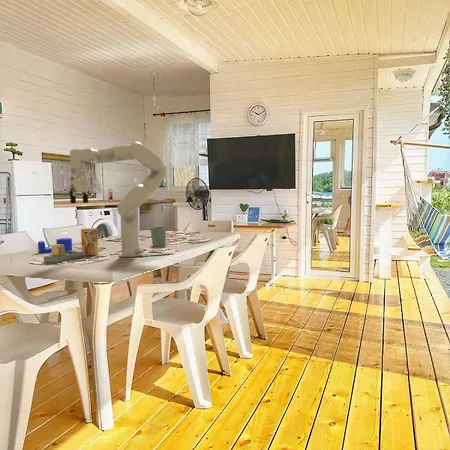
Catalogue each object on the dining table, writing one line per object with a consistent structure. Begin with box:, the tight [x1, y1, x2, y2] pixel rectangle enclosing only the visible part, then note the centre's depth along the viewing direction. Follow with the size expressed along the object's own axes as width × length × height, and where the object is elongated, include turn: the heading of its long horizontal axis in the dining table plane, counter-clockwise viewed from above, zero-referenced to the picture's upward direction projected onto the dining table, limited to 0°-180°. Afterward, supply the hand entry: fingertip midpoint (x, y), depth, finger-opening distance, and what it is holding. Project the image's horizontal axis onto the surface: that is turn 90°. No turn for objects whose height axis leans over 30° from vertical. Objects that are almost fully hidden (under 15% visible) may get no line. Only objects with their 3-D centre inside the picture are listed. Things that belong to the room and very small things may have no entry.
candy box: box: [80, 227, 99, 256], centre depth 235 cm, size 9×4×15 cm, turn 104°
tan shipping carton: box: [50, 243, 65, 256], centre depth 215 cm, size 5×4×8 cm
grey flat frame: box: [43, 250, 85, 264], centre depth 219 cm, size 20×9×3 cm, turn 158°
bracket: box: [37, 237, 73, 255], centre depth 251 cm, size 20×9×8 cm, turn 133°
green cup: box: [150, 226, 167, 247], centre depth 270 cm, size 10×10×12 cm
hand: (79, 203), depth 225 cm, fingers open, 9 cm apart
